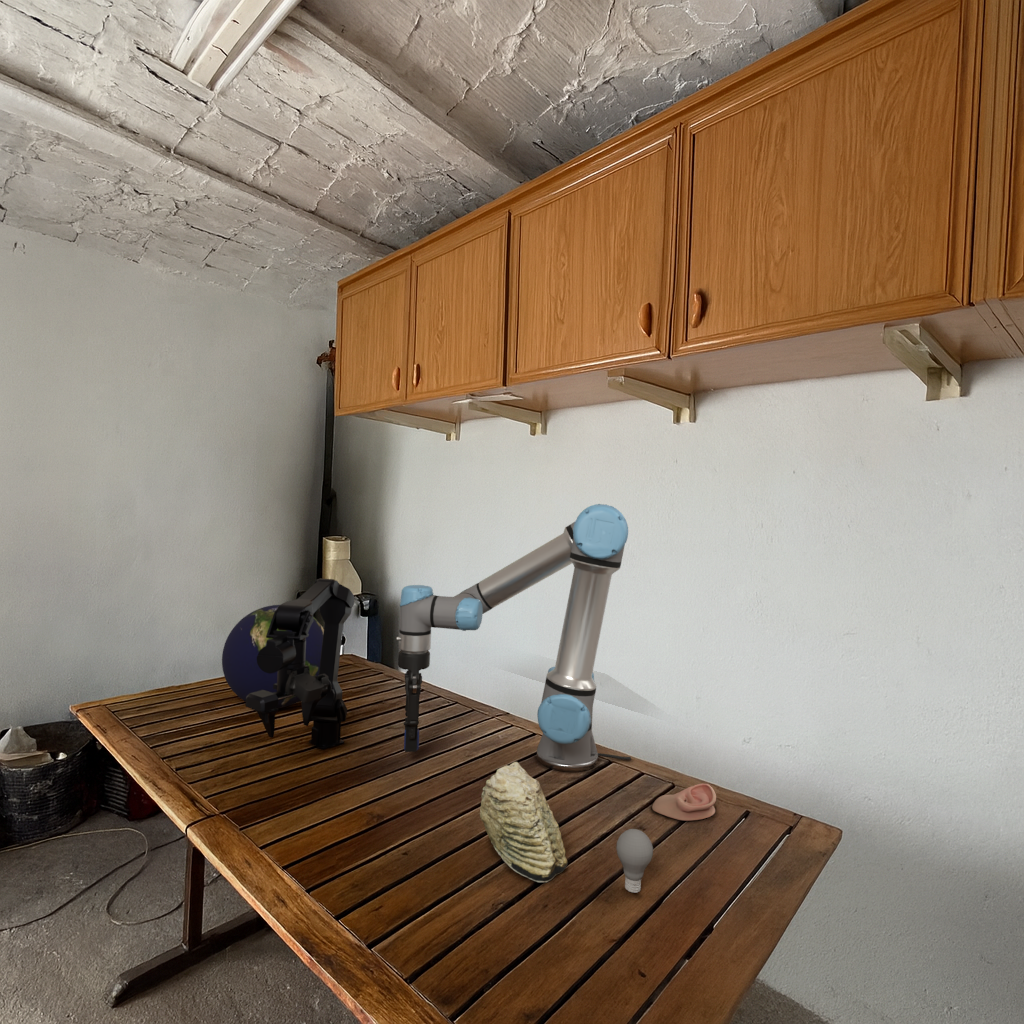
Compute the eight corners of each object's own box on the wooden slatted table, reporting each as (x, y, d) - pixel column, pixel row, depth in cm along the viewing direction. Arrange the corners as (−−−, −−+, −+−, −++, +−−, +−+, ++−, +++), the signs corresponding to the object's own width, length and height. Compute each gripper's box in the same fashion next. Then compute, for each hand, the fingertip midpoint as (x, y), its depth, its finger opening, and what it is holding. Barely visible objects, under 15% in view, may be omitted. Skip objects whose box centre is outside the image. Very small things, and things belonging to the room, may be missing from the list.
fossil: (501, 827, 124) (504, 751, 124) (575, 868, 111) (578, 784, 111) (467, 843, 118) (470, 763, 118) (541, 889, 105) (545, 799, 105)
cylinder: (417, 751, 150) (418, 733, 150) (402, 751, 150) (403, 733, 150) (419, 746, 154) (420, 728, 153) (405, 745, 154) (406, 727, 154)
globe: (289, 685, 209) (292, 594, 208) (348, 705, 191) (352, 606, 191) (199, 706, 185) (203, 604, 184) (258, 732, 167) (262, 619, 167)
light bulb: (610, 879, 108) (613, 822, 108) (644, 879, 109) (647, 822, 109) (619, 902, 102) (622, 840, 102) (655, 901, 103) (658, 840, 103)
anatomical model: (653, 797, 131) (652, 774, 142) (652, 816, 131) (651, 792, 142) (720, 806, 128) (714, 782, 140) (719, 826, 128) (713, 800, 140)
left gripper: (279, 677, 128) (276, 753, 128) (349, 659, 143) (346, 727, 144) (245, 667, 134) (242, 740, 134) (316, 651, 149) (313, 717, 150)
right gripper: (397, 642, 159) (393, 735, 159) (399, 659, 142) (395, 762, 143) (427, 642, 160) (423, 734, 161) (433, 659, 144) (428, 761, 144)
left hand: (289, 731), depth 140 cm, fingers open, 9 cm apart
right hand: (410, 747), depth 152 cm, fingers closed on cylinder, 3 cm apart
